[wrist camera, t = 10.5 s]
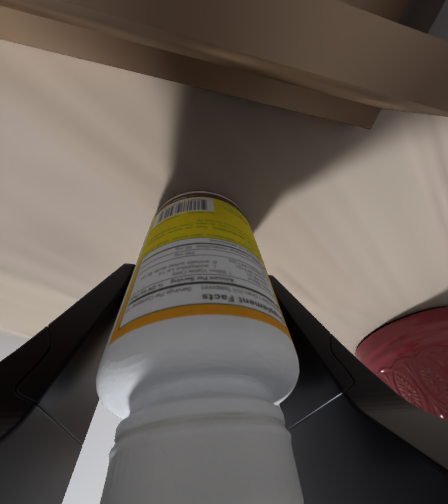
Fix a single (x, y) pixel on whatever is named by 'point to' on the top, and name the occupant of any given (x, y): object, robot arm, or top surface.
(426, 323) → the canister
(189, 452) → the supplement bottle
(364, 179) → the top surface
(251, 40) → the wooden tray
